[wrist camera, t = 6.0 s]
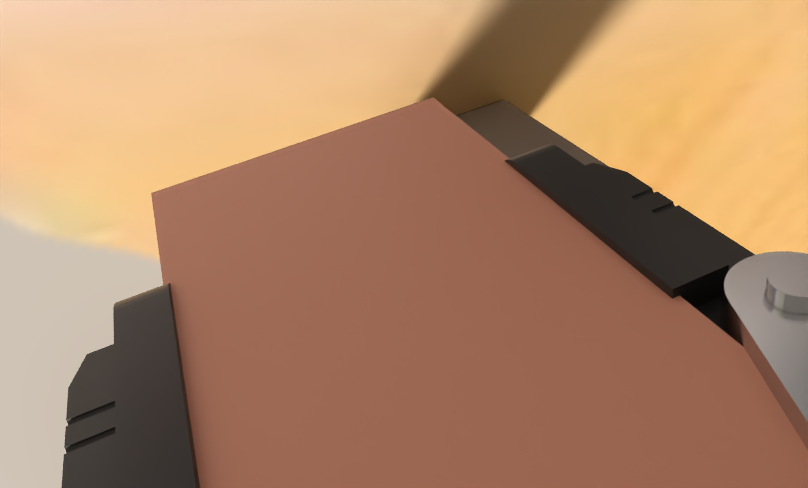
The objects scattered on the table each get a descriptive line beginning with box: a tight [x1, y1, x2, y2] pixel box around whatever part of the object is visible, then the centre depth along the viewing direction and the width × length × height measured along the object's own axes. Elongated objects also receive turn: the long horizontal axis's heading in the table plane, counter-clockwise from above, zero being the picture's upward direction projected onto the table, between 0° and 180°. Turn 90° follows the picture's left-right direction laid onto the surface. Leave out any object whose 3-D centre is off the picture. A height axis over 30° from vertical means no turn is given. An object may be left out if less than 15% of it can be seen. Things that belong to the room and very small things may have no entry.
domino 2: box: [151, 97, 808, 488], centre depth 8 cm, size 5×2×10 cm, turn 102°
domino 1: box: [457, 100, 609, 167], centre depth 23 cm, size 5×2×10 cm, turn 101°
